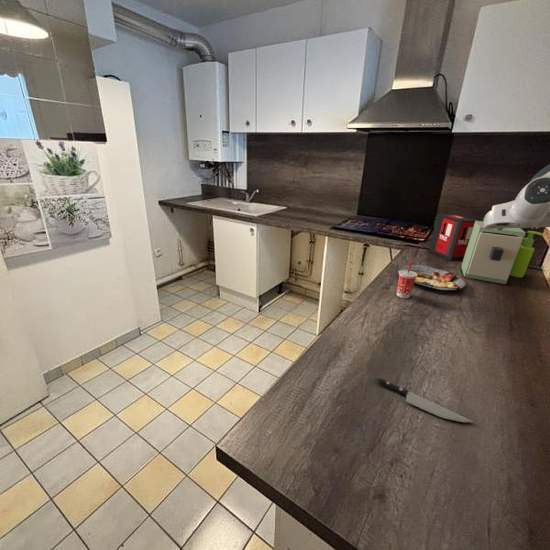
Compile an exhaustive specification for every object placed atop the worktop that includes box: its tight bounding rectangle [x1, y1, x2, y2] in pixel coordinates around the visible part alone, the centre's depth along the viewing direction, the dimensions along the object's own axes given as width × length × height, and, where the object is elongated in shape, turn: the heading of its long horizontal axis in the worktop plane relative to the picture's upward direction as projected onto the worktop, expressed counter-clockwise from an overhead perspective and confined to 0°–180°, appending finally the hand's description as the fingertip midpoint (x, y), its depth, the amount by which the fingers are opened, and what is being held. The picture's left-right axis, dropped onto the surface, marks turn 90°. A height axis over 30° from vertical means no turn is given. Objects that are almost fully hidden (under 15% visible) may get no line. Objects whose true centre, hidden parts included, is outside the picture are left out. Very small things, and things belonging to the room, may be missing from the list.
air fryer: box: [461, 220, 527, 285], centre depth 124 cm, size 14×15×23 cm
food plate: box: [397, 264, 467, 292], centre depth 120 cm, size 25×23×4 cm
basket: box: [467, 232, 524, 282], centre depth 122 cm, size 17×14×18 cm
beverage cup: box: [396, 259, 417, 299], centre depth 105 cm, size 6×6×14 cm
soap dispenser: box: [509, 230, 545, 279], centre depth 126 cm, size 6×7×20 cm
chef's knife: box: [376, 377, 474, 423], centre depth 61 cm, size 19×1×3 cm
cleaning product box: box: [428, 213, 478, 262], centre depth 149 cm, size 16×9×20 cm, turn 10°
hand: (516, 227), depth 101 cm, fingers open, 8 cm apart
